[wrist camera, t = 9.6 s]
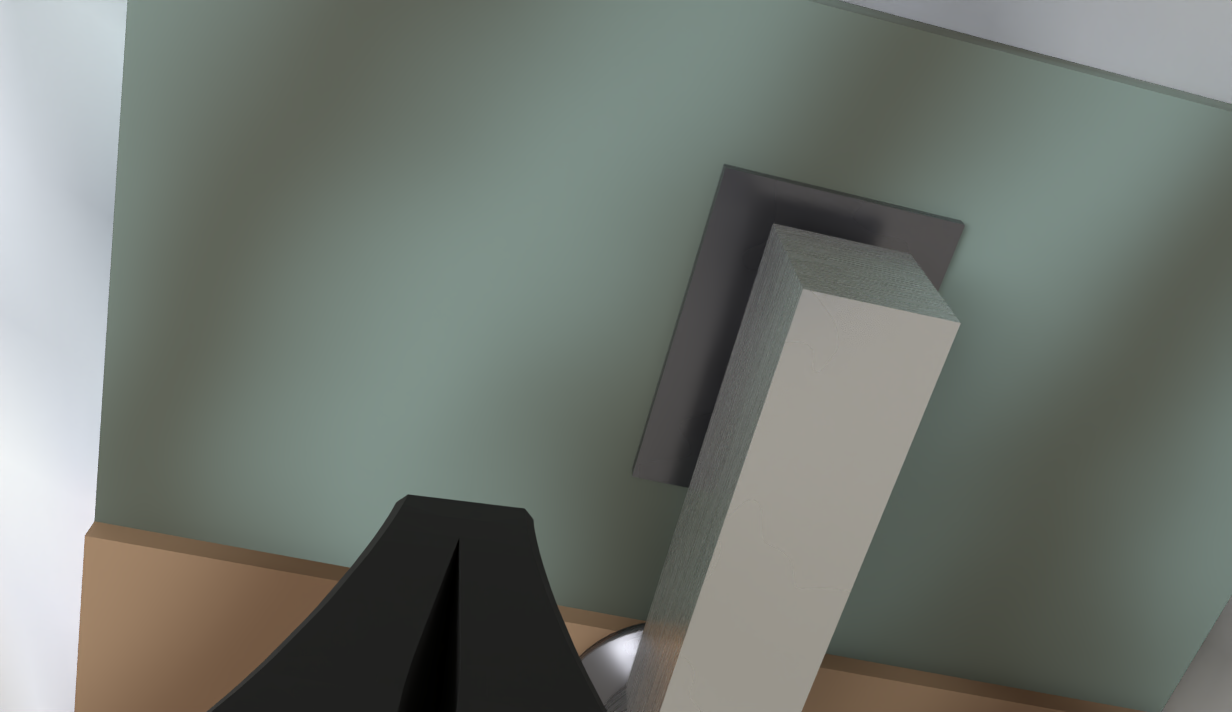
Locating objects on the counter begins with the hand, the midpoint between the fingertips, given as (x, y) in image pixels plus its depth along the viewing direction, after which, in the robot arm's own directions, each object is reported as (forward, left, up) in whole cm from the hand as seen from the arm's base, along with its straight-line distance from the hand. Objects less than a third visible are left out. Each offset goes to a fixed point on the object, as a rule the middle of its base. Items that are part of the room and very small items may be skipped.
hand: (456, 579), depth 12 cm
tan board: (-4, +5, -7) cm, 10 cm away
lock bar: (-4, +2, -5) cm, 7 cm away
